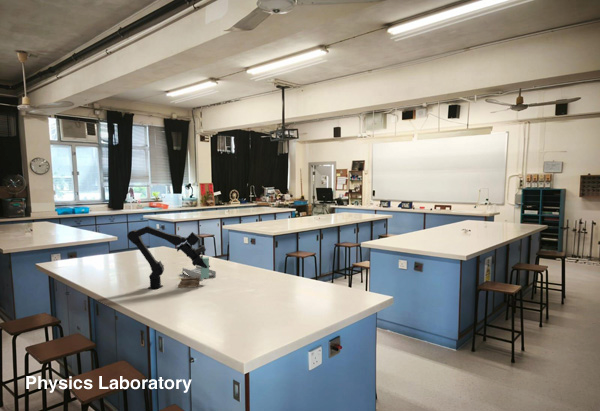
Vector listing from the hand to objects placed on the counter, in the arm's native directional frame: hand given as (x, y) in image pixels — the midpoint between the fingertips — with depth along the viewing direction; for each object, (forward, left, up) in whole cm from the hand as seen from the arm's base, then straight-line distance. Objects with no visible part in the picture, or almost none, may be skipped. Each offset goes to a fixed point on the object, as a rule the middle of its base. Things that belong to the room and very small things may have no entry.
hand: (207, 267), depth 222 cm
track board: (-4, +10, -11) cm, 16 cm away
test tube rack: (+13, +17, -9) cm, 23 cm away
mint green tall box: (-1, +1, -7) cm, 7 cm away
